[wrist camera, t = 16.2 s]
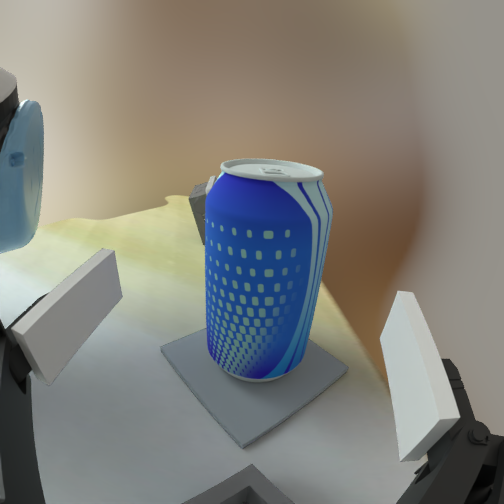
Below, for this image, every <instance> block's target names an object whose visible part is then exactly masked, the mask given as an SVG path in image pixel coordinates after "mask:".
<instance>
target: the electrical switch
mask: <svg viewBox="0 0 504 504" xmlns="http://www.w3.org/2000/svg"><path fill="white" fill-rule="evenodd" d="M216 180H217V178H216V176H211V177H210V180H209V182H206V183H203V184H200V185H195V187H194V189H193V191H192V193H191V195H190V197H189V202H190V205H191V208H192V211H193V215H194V218H195V221H196V224H197V227H198V230H199V233H200V236H201V240H202V243H203V245H205V220H204V219H205V201H206V197H207V194H208V193H209V191H210V190H211V188H212V187H213V185H214V183H215V182H216ZM194 197H195V198H194Z"/></svg>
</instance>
